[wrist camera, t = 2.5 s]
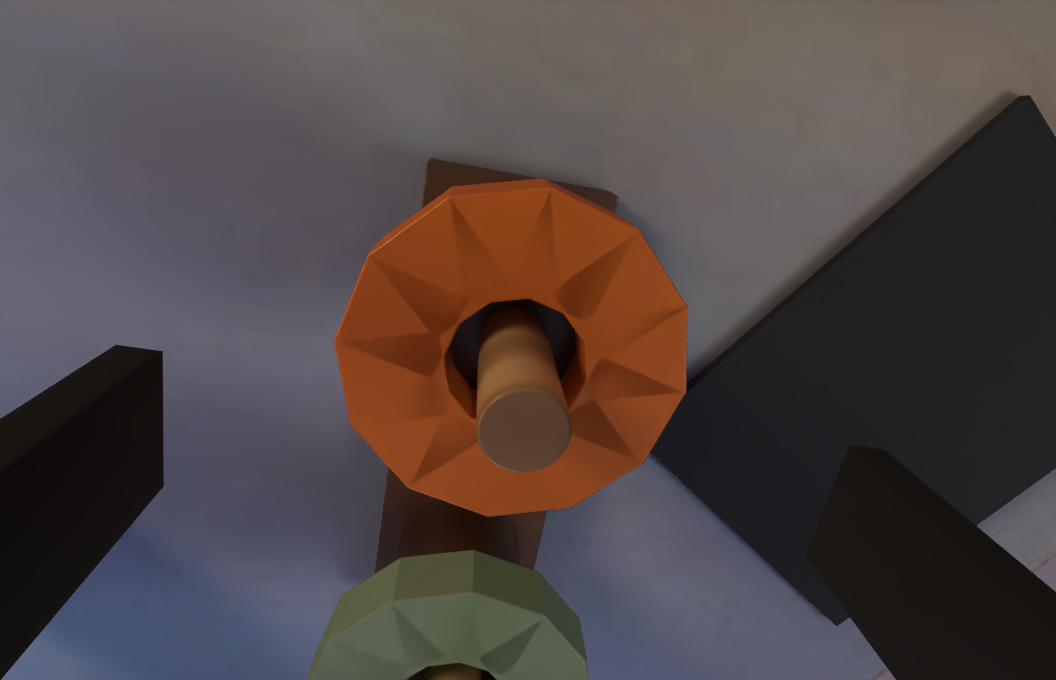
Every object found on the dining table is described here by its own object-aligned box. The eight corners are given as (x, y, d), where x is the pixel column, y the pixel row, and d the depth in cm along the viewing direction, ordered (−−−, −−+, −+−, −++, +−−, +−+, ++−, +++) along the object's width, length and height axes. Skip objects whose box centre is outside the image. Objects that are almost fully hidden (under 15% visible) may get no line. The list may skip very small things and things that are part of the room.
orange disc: (556, 110, 16) (566, 110, 14) (720, 372, 19) (746, 401, 17) (286, 307, 17) (262, 330, 15) (478, 523, 20) (478, 565, 18)
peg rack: (430, 158, 23) (373, 211, 11) (611, 191, 24) (740, 274, 12) (375, 586, 30) (301, 911, 18) (519, 600, 31) (543, 920, 19)
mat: (1019, 95, 24) (1030, 94, 24) (1184, 363, 29) (1196, 367, 28) (631, 431, 28) (634, 437, 28) (831, 619, 33) (836, 626, 32)
